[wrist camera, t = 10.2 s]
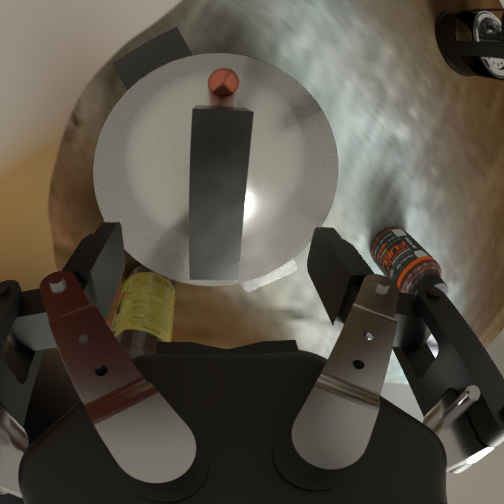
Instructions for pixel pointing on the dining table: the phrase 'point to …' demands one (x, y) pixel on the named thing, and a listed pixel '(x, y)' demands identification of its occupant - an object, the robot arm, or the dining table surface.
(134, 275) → the sauce bottle
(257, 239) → the cooker lid
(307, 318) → the dining table surface
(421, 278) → the supplement bottle
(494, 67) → the french press
